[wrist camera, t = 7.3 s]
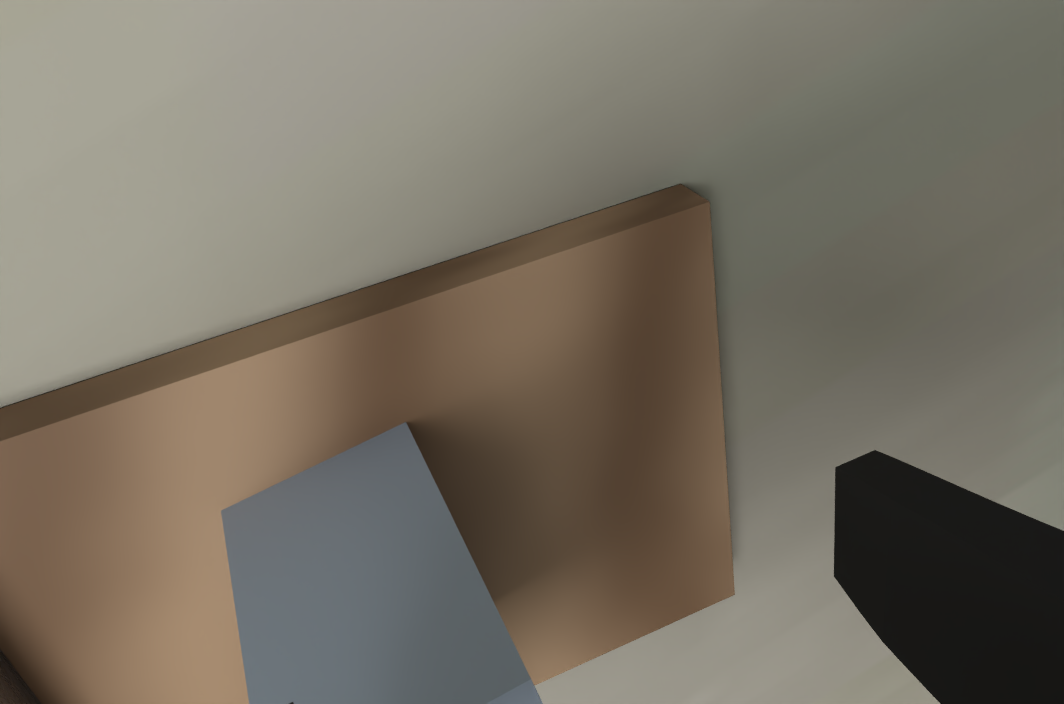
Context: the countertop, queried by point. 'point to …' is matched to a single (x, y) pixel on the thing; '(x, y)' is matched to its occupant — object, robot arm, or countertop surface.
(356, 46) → the countertop surface
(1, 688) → the price rail
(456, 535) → the carton
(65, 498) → the shelf board
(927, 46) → the countertop surface
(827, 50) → the countertop surface
